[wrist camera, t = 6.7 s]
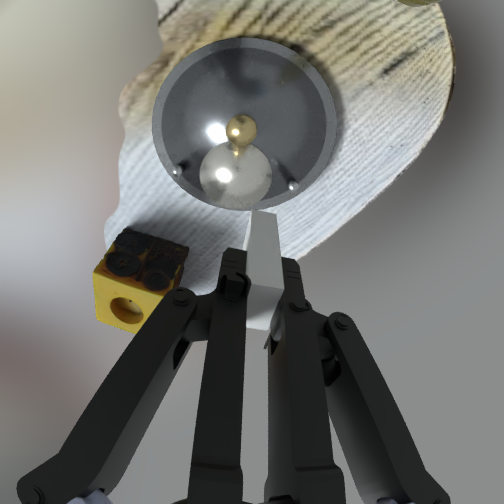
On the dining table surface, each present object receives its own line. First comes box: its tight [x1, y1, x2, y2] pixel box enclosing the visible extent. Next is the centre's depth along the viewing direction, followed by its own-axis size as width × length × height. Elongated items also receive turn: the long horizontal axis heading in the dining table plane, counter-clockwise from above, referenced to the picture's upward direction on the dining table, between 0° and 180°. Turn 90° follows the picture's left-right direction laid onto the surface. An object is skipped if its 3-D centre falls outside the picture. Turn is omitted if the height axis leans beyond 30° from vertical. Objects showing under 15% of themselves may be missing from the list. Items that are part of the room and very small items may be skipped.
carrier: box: [152, 38, 337, 211], centre depth 25 cm, size 20×20×4 cm
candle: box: [93, 228, 189, 334], centre depth 35 cm, size 10×10×10 cm
